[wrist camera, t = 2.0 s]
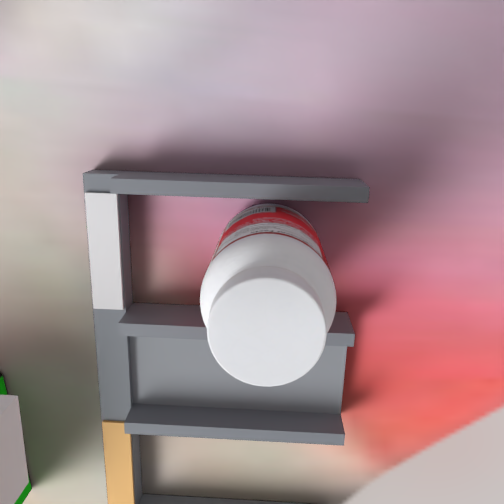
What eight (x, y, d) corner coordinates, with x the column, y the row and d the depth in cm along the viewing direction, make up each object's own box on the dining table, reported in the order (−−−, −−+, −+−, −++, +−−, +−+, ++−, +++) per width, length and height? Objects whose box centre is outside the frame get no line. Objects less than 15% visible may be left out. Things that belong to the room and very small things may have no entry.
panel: (92, 169, 28) (71, 177, 25) (359, 178, 27) (369, 187, 25) (115, 501, 35) (101, 536, 32) (328, 513, 34) (333, 550, 32)
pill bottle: (285, 315, 30) (292, 429, 20) (200, 268, 29) (159, 358, 19) (340, 233, 28) (379, 309, 18) (251, 181, 28) (236, 227, 17)
